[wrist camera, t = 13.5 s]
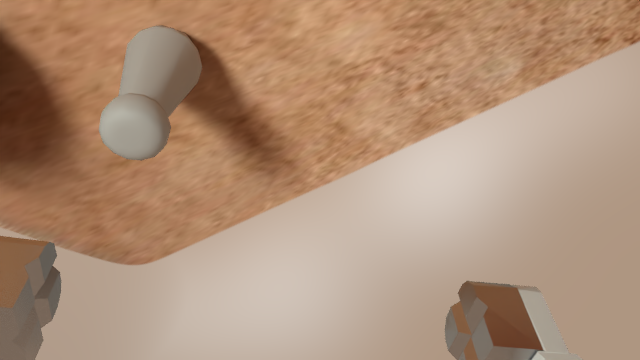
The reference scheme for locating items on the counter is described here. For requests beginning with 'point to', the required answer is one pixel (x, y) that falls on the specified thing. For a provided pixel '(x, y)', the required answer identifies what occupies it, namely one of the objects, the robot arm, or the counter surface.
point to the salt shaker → (150, 92)
